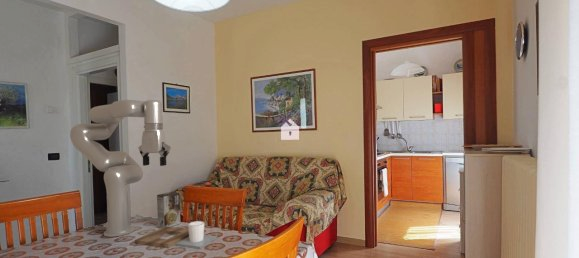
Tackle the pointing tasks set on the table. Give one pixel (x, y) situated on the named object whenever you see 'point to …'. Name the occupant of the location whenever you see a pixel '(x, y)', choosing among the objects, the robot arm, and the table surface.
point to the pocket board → (166, 243)
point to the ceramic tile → (200, 244)
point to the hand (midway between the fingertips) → (154, 165)
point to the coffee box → (168, 209)
